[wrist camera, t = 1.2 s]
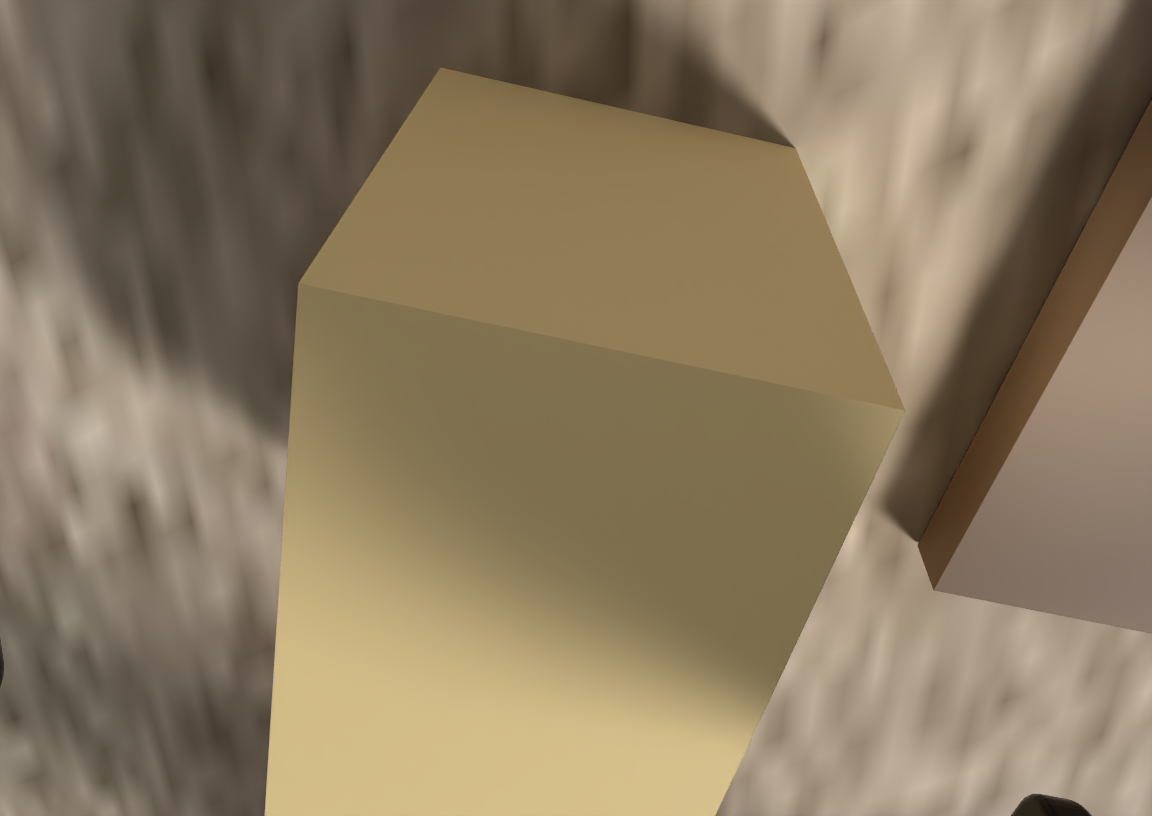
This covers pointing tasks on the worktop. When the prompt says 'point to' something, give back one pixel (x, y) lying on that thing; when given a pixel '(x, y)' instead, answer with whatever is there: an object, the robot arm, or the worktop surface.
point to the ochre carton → (560, 463)
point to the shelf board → (1068, 436)
